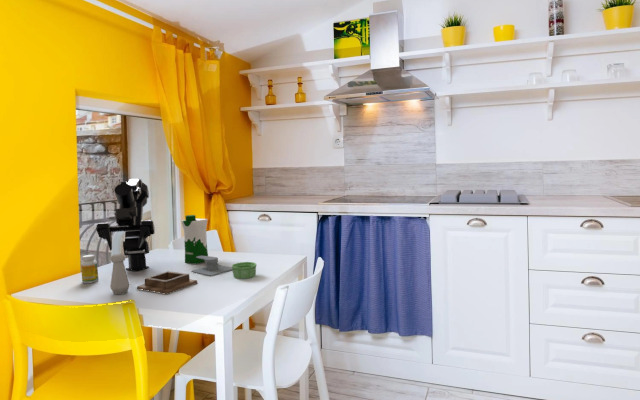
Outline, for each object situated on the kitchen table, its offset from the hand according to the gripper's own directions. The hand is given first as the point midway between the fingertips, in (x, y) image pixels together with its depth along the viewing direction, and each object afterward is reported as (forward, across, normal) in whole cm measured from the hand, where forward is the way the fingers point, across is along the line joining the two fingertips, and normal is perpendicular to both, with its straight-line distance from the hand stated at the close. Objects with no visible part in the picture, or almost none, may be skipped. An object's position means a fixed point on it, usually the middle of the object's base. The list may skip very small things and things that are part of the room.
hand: (124, 248), depth 160 cm
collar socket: (+13, +14, +5) cm, 20 cm away
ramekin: (+11, +40, +8) cm, 43 cm away
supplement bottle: (+2, -14, +17) cm, 23 cm away
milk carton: (-10, +23, +31) cm, 40 cm away
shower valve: (+2, +29, +18) cm, 34 cm away
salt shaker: (+15, -1, +3) cm, 16 cm away
